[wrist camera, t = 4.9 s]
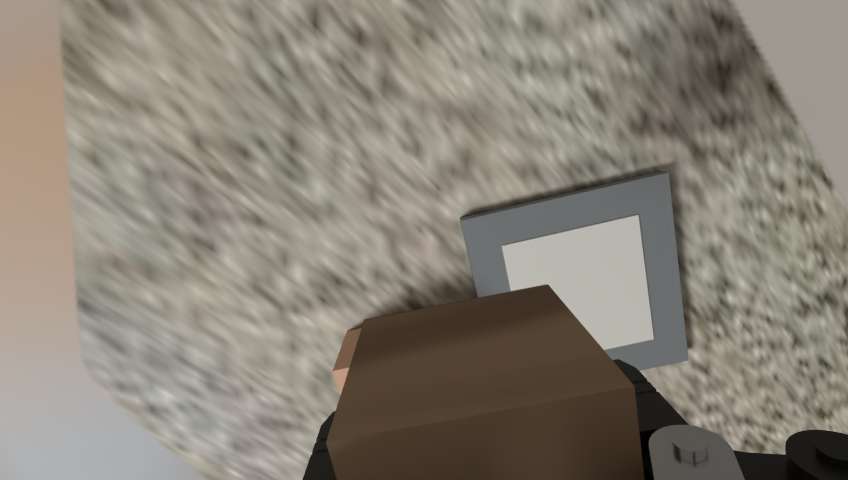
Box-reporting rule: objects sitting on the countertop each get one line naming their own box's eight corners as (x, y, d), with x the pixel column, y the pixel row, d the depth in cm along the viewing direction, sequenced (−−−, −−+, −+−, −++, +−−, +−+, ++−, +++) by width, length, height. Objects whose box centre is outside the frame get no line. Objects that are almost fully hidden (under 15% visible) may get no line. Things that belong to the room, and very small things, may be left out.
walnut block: (363, 319, 12) (326, 442, 7) (547, 284, 12) (634, 386, 7) (402, 475, 13) (392, 671, 8) (571, 444, 13) (661, 628, 8)
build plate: (459, 217, 27) (461, 221, 26) (660, 170, 26) (669, 172, 25) (498, 392, 30) (500, 401, 29) (680, 353, 29) (689, 360, 28)
